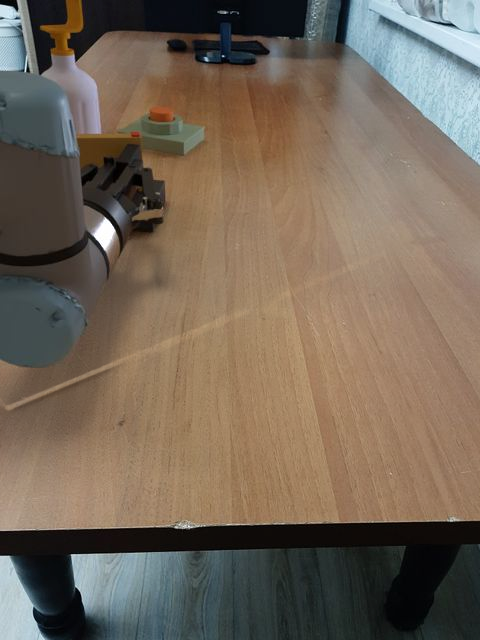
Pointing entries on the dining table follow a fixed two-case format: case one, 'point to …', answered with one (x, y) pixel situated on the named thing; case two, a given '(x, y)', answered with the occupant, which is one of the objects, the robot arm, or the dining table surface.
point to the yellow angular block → (105, 147)
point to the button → (161, 114)
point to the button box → (166, 134)
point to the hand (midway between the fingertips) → (134, 155)
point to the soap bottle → (73, 73)
